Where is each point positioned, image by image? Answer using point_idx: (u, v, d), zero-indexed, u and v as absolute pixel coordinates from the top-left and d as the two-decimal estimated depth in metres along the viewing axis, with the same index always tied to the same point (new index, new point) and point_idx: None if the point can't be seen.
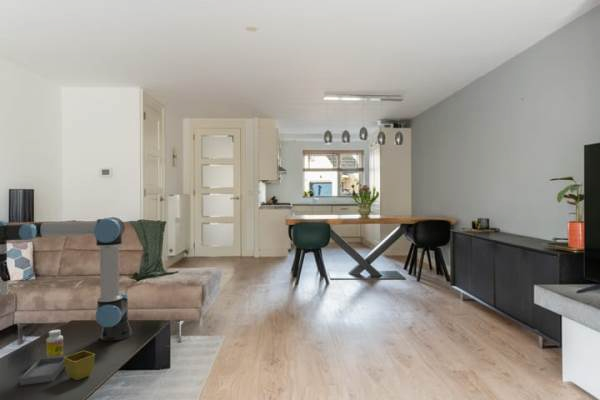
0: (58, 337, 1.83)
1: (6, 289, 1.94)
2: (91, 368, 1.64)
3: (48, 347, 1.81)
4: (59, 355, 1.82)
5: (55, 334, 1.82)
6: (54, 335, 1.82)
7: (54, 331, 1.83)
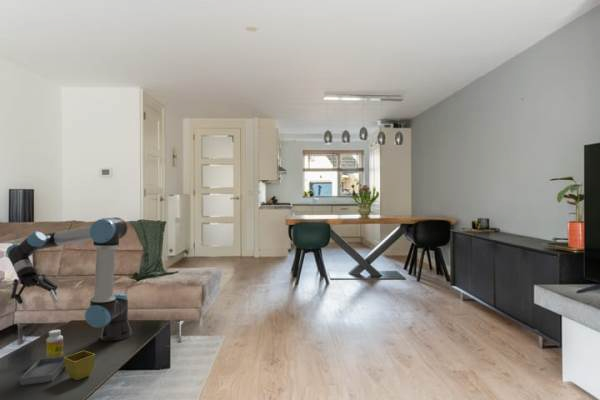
0: (58, 337, 1.83)
1: (54, 296, 1.95)
2: (91, 368, 1.64)
3: (48, 347, 1.81)
4: (59, 355, 1.82)
5: (55, 334, 1.82)
6: (54, 335, 1.82)
7: (54, 331, 1.83)
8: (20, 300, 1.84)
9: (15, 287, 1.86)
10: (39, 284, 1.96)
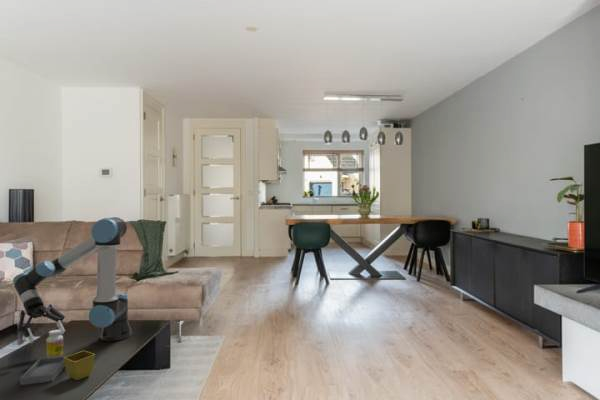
0: (58, 337, 1.83)
1: (61, 327, 1.91)
2: (91, 368, 1.64)
3: (48, 347, 1.81)
4: (59, 355, 1.82)
5: (55, 334, 1.82)
6: (54, 335, 1.82)
7: (54, 331, 1.83)
8: (27, 333, 1.80)
9: (22, 319, 1.82)
10: (46, 315, 1.92)
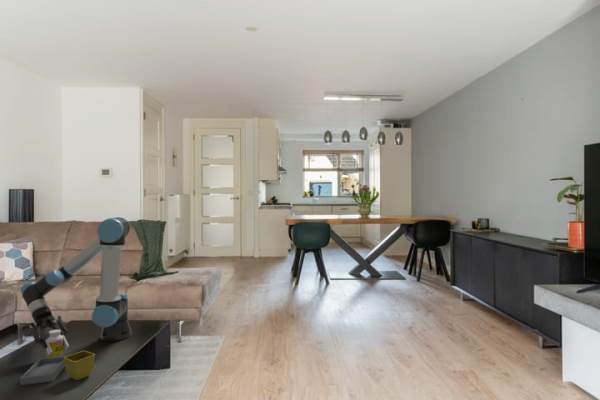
0: (58, 337, 1.83)
1: (65, 342, 1.85)
2: (91, 368, 1.64)
3: None
4: (59, 355, 1.82)
5: (55, 334, 1.82)
6: (54, 335, 1.82)
7: (54, 331, 1.83)
8: (45, 345, 1.79)
9: (36, 331, 1.81)
10: (52, 326, 1.88)
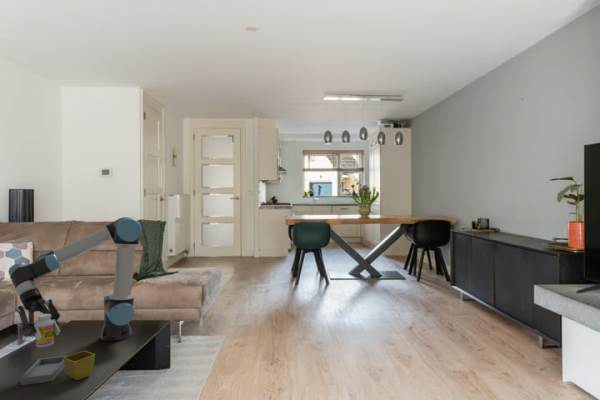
0: (48, 321, 1.68)
1: (56, 327, 1.70)
2: (91, 368, 1.64)
3: None
4: (49, 341, 1.67)
5: (45, 318, 1.67)
6: (44, 319, 1.67)
7: (44, 315, 1.68)
8: (34, 330, 1.64)
9: (24, 315, 1.65)
10: (42, 310, 1.73)
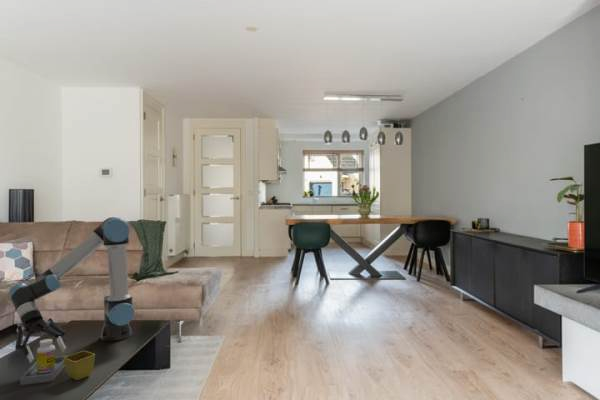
0: (49, 347, 1.68)
1: (61, 344, 1.73)
2: (91, 368, 1.64)
3: (39, 358, 1.66)
4: (51, 367, 1.67)
5: (46, 344, 1.67)
6: (45, 345, 1.67)
7: (45, 341, 1.69)
8: (26, 351, 1.62)
9: (19, 336, 1.65)
10: (45, 330, 1.74)
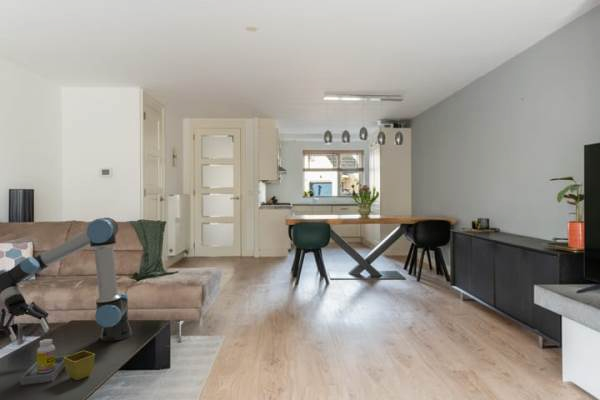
0: (49, 347, 1.68)
1: (44, 325, 1.84)
2: (91, 368, 1.64)
3: (39, 358, 1.66)
4: (51, 367, 1.67)
5: (46, 344, 1.67)
6: (45, 345, 1.67)
7: (45, 341, 1.69)
8: (8, 332, 1.72)
9: (3, 318, 1.75)
10: (28, 312, 1.85)
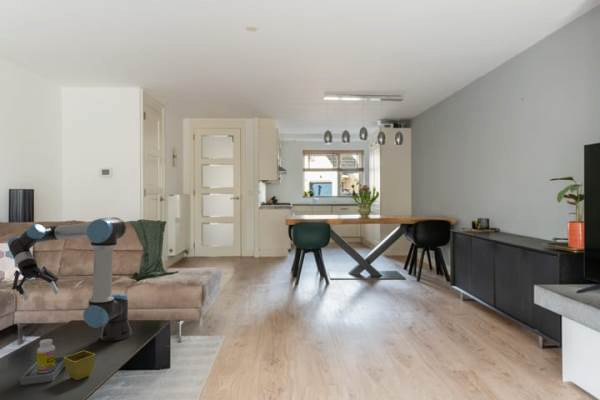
0: (49, 347, 1.68)
1: (54, 287, 1.98)
2: (91, 368, 1.64)
3: (39, 358, 1.66)
4: (51, 367, 1.67)
5: (46, 344, 1.67)
6: (45, 345, 1.67)
7: (45, 341, 1.69)
8: (21, 291, 1.86)
9: (16, 278, 1.89)
10: (40, 276, 1.98)
